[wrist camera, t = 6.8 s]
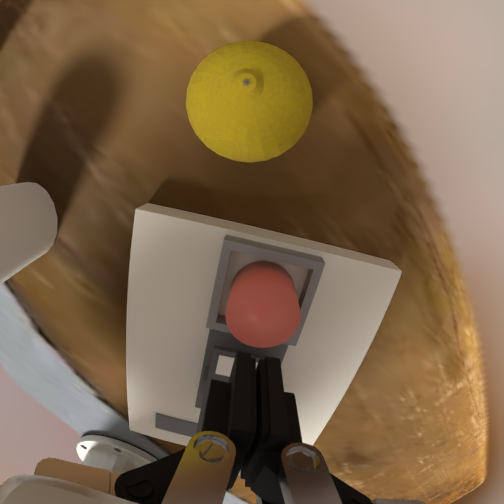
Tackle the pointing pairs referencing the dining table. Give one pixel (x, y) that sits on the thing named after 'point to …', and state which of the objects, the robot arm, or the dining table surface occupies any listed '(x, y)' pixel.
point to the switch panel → (214, 316)
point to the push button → (262, 305)
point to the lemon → (249, 101)
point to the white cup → (24, 226)
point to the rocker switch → (220, 372)
